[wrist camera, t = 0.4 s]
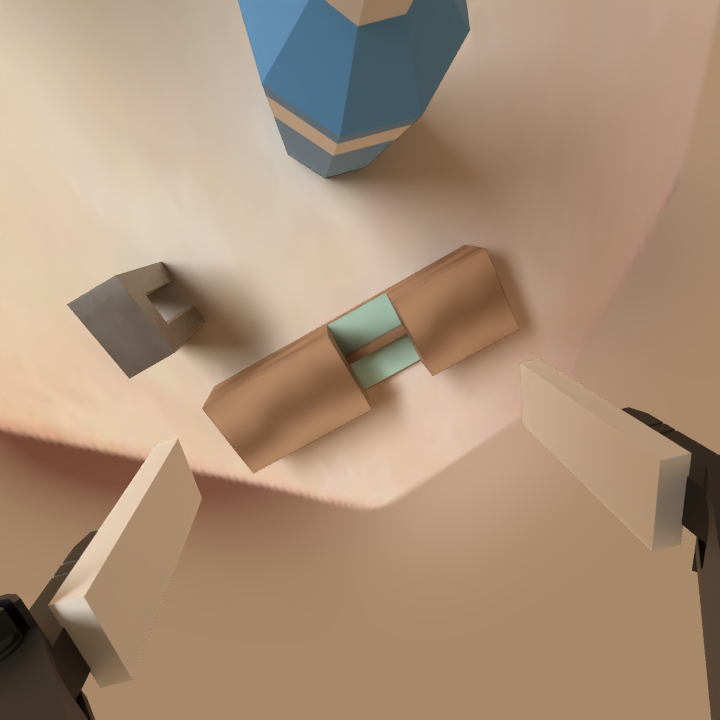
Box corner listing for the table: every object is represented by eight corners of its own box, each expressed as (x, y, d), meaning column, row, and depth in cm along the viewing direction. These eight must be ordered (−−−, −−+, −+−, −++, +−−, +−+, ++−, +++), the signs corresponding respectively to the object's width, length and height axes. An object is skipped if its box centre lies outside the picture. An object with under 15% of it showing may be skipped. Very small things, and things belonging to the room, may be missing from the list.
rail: (214, 386, 40) (202, 408, 36) (464, 245, 39) (486, 248, 34) (259, 445, 43) (253, 473, 38) (495, 316, 41) (519, 329, 37)
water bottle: (341, 22, 32) (428, -519, 8) (407, 132, 35) (606, -39, 11) (250, 102, 33) (99, -183, 9) (322, 201, 36) (343, 174, 13)
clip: (123, 284, 36) (66, 304, 28) (161, 261, 36) (115, 275, 28) (169, 343, 39) (129, 378, 30) (204, 322, 38) (174, 352, 30)
